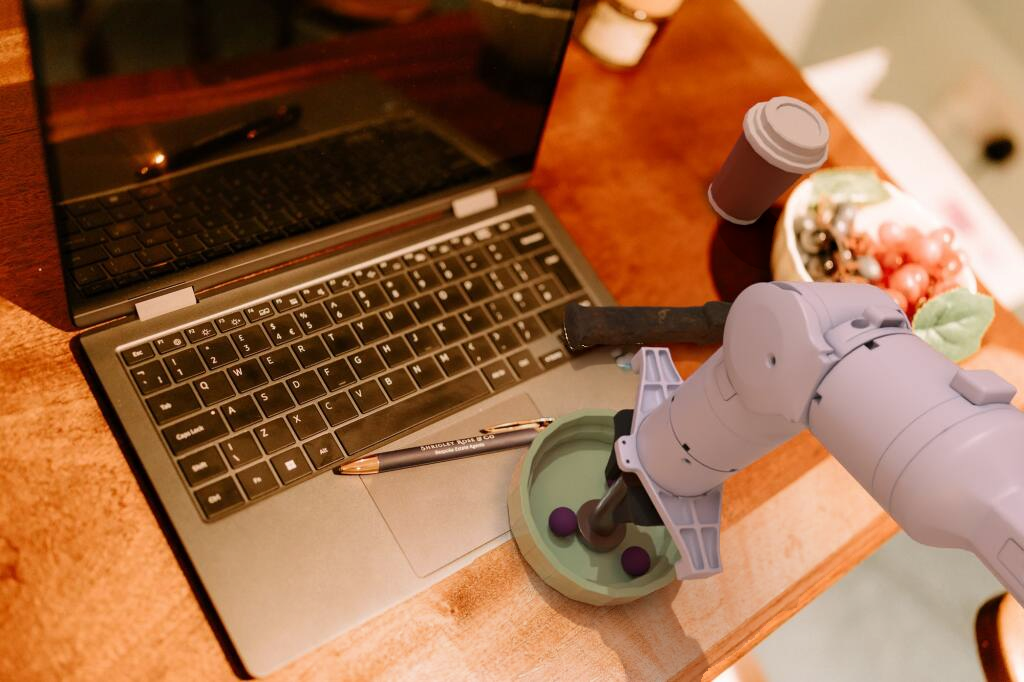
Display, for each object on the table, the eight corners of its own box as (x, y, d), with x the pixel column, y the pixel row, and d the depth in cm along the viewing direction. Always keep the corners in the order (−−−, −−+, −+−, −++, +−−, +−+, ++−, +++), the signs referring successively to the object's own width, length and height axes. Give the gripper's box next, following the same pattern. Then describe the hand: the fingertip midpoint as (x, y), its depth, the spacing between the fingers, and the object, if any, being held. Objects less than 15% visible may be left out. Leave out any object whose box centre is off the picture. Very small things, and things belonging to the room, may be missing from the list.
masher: (619, 559, 53) (661, 514, 47) (569, 542, 53) (605, 495, 47) (626, 512, 56) (666, 464, 49) (578, 496, 55) (613, 445, 49)
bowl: (694, 599, 54) (720, 589, 51) (517, 613, 50) (533, 604, 47) (655, 427, 61) (676, 409, 58) (497, 428, 57) (510, 408, 54)
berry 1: (560, 538, 54) (570, 546, 52) (538, 522, 53) (548, 529, 51) (576, 514, 54) (587, 521, 52) (556, 498, 54) (566, 504, 52)
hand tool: (562, 356, 62) (581, 330, 58) (556, 317, 64) (573, 290, 60) (747, 360, 67) (775, 336, 64) (736, 324, 69) (763, 299, 65)
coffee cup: (696, 220, 75) (757, 138, 65) (696, 161, 80) (754, 76, 70) (773, 244, 76) (845, 167, 66) (769, 184, 81) (836, 104, 71)
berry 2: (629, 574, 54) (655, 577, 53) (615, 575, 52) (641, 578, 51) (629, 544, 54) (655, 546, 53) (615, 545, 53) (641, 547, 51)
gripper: (626, 309, 42) (555, 403, 53) (681, 559, 35) (586, 605, 46) (730, 314, 44) (640, 404, 55) (801, 551, 37) (681, 598, 48)
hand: (621, 496), depth 51 cm, fingers closed on masher, 2 cm apart
